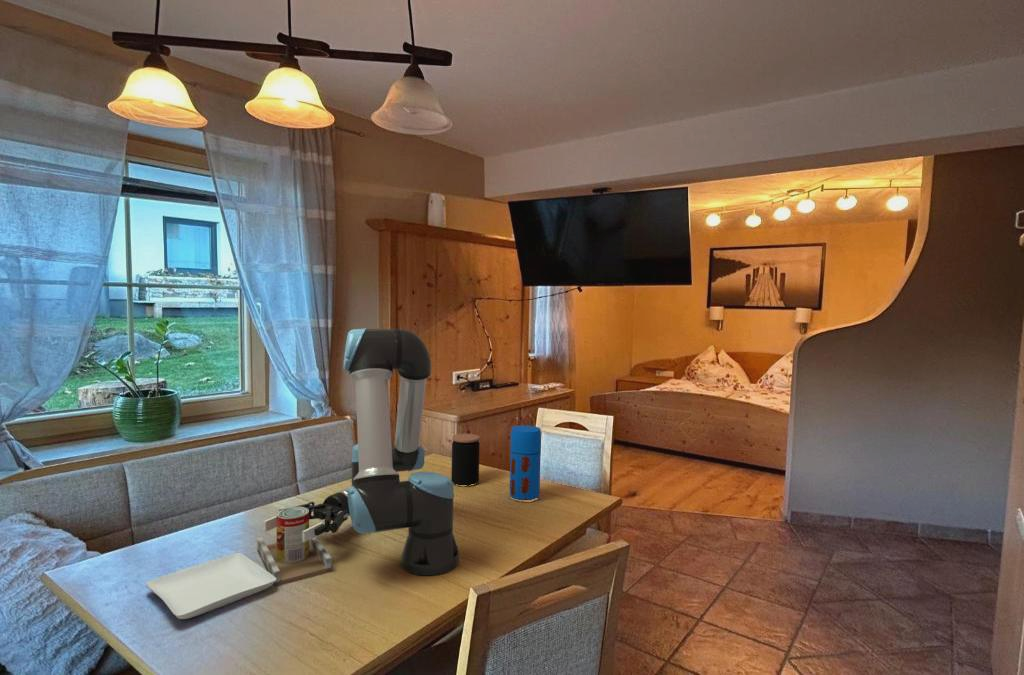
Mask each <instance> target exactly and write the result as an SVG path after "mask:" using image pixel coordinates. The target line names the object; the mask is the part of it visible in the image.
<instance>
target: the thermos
mask: <svg viewBox="0 0 1024 675" xmlns="http://www.w3.org/2000/svg"><path fill="white" fill-rule="evenodd" d="M541 448H542V430H541V427H538V426H533V425H516V426H513V427H511V431H510V454H509V455H510V459H509V461H510V462H509V464H510V466H509V467H510V468H509V497H510V496H511V497H512V498H514V499H518V500H532V499H535V498H538V496H539V497H540V489H541V488H540V486H541V457H542V456H541Z"/></svg>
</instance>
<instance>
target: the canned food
mask: <svg viewBox="0 0 1024 675" xmlns="http://www.w3.org/2000/svg"><path fill="white" fill-rule="evenodd" d="M279 510H280V509H279ZM279 510H278V512H276V516H277V527H276V543H277V561H278V562H280V563H283V564H293V563H297V562H301V561H303V560H305V559H306V558H307V557H308V556H309V540H308V541H306V542H302V531H304V530H306V529H308V528H310V519H309V509H308V508H305V507H294V506H291V507H285V508H282V510H280V511H279Z"/></svg>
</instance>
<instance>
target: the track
mask: <svg viewBox="0 0 1024 675" xmlns="http://www.w3.org/2000/svg"><path fill="white" fill-rule="evenodd" d="M256 540H257V541H256V542H257V543H256V545H257V547H256V548H257V550H256V551H257V554H258V555H259V558H260V559H261V562H262V563H263V566H264V569H265V570H266V571H267V572H269V573H270V574H272V575H273V576H274V577H276V581H275V582H274V583H273V584H272V586H274V587H278V586H281V585H285V584H289V583H292V582H296V581H300V580H303V579H307V578H310V577H315V576H318V575H322V574H327V573H330V572H332V556H331V555H330V554H329V553H328V552H327V550H326V548H324V546H323V545H322V543H321V542H320V541H319V540H318V538H317V536H316V537H314V538H312V539H310V540H309V556H308V557H307V558H306V559H305V560H303V561H301V562H297V563H293V564H283V563H280V562H278V561H277V542H274V543H270V544H266V541H265V540H264V539H263V537H257V538H256Z"/></svg>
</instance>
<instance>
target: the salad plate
mask: <svg viewBox="0 0 1024 675" xmlns="http://www.w3.org/2000/svg"><path fill="white" fill-rule="evenodd" d="M275 581H276V577H274V576H273V575H272V574H270V573H269V572H267V570H266V568H264V567H262V566H260V565H259V564H257V563H256V562H255V561H253V560H251V559H250V558H248V556H246V555H244V554H243V553H242V552H236V553H235V552H234V553H231V554H229V555H225V556H223V557H218V558H216V559H212V560H210V561H206V562H203V563H200V564H197V565H194V566H191V567H187V568H184V569H181V570H178V571H175V572H172V573H169V574H166V575H163V576H159V577H157V578H154V579H150V580H148V581H147V582H146V583H145V586H146V587H147V588H148V589H149V590H150V591H151V592H152V593H154V595H156V596H158V597H159V599H161V601H162V602H163V603H164V604H165V605H166V606H167V608H168V609H169V610H170V612H171V613H172V614H173V615H174V616H175V617H176V618H177V619H179V620H180V619H181V620H186V619H192V618H194V617H197V616H201V615H203V613H204V614H206V612H207V613H209V612H211V611H214V610H217V609H219V608H222V607H224V606H227V605H230V604H232V603H234V602H237V601H239V600H242V599H244V598H247V597H249V596H252V595H254V594H257V593H260V592H262V591H265V590H266V589H268V588H269V587H271V586H273V583H274V582H275Z"/></svg>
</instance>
